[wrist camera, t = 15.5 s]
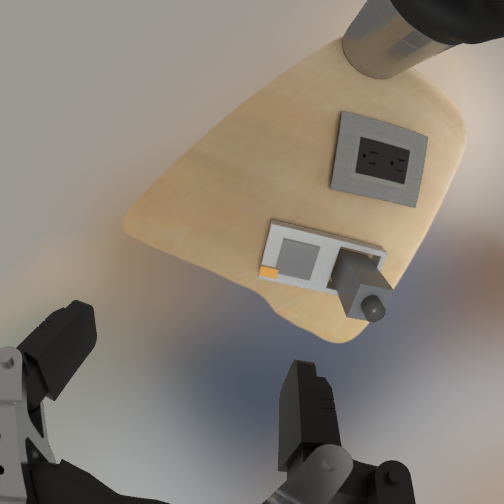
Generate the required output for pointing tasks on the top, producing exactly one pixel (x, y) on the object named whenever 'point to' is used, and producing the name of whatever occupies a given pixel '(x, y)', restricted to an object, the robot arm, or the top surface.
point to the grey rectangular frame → (307, 256)
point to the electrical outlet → (378, 160)
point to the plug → (360, 286)
